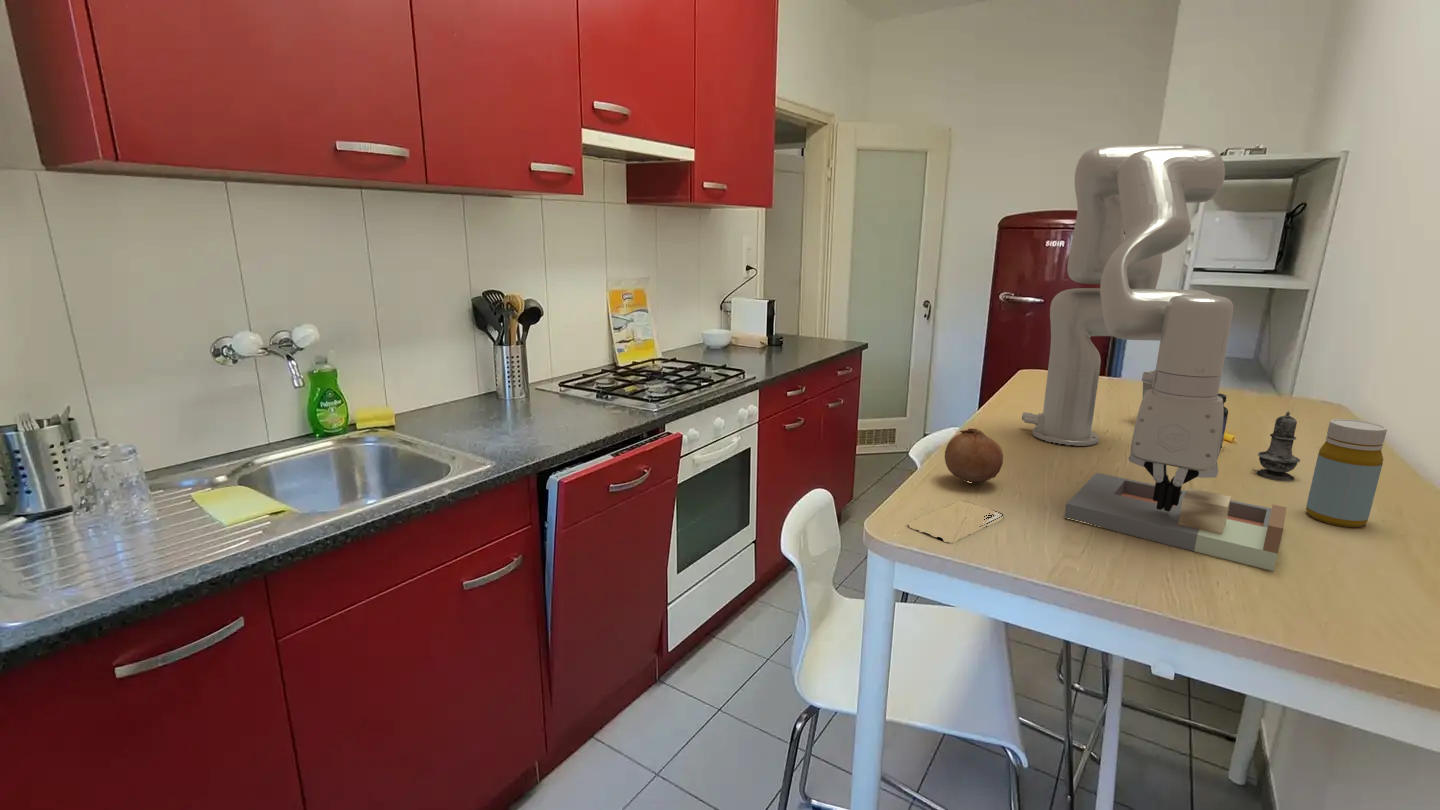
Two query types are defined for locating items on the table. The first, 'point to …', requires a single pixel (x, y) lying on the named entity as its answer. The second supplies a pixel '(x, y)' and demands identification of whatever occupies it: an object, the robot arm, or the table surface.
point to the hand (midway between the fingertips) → (1164, 507)
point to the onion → (973, 456)
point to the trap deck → (1134, 513)
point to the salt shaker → (1280, 451)
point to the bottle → (1347, 473)
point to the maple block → (1204, 510)
